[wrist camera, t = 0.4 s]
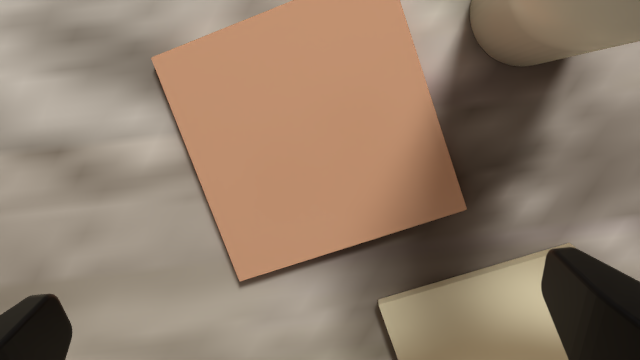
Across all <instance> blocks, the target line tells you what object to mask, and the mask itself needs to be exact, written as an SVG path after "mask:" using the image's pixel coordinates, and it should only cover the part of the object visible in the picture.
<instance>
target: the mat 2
mask: <svg viewBox="0 0 640 360" xmlns="http://www.w3.org/2000/svg"><path fill="white" fill-rule="evenodd" d="M564 247H574V246H573V245H571V244H570V243H567V244H564V245H560V246H557V247H554V248H564ZM574 248H575V247H574ZM551 249H553V248H550V249H547V250H544V251H540V252H537V253H533V254H530V255H527V256H523V257H520V258H517V259H513V260H510V261H506V262H503V263H500V264H496V265H493V266H490V267H486V268H483V269H479V270H476V271H473V272H469V273H466V274H463V275H459V276H456V277H452V278H449V279H446V280H442V281H439V282H436V283H432V284H429V285H425V286H422V287H419V288H415V289H412V290H409V291H405V292H402V293H398V294H395V295H392V296H388V297H385V298H382V299H378V305H379V308H380V311H381V313H382V316H383V319H384V322H385V325H386V327H387V330H388V333H389V336H390V339H391V341H392V344H393V347H394V350H395V353H396V355H397V358H398V360H568V357H567V355H566V352H565V350H564V347H563V345H562V342H561V340H560V338H559V335H558V333H557V330H556V328H555V325H554V323H553V320H552V318H551V315H550V313H549V310H548V308H547V305H546V303H545V301H544V298H543V295H542V291H541V281H542V276H543V270H544V265H545V260H546V255H547V253H548V251H549V250H551Z"/></svg>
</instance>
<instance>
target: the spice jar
mask: <svg viewBox="0 0 640 360" xmlns="http://www.w3.org/2000/svg"><path fill="white" fill-rule="evenodd" d="M470 22H471V28H472V31H473V34H474V36H475V38H476V40H477V42H478V43H479V45H480V46H481V48H482V49H483V50H484V51H485V52H486V53H487V54H488V55H489V56H491V57H492V58H494V59H495V60H497V61H499V62H502V63H504V64H508V65H512V66H532V65H537V64H541V63H545V62H550V61H554V60H558V59H563V58H567V57H572V56H576V55H580V54H585V53H589V52H594V51H598V50H602V49H607V48H611V47H615V46H620V45H624V44H629V43H633V42H637V41H640V0H472V1H471V6H470Z"/></svg>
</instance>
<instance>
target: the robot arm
mask: <svg viewBox="0 0 640 360" xmlns="http://www.w3.org/2000/svg"><path fill="white" fill-rule="evenodd" d="M541 291H542V295H543V298H544V301H545V303H546V305H547V308H548V310H549V313H550V315H551V318H552V320H553V323H554V325H555V328H556V330H557V333H558V335H559V338H560V340H561V342H562V345H563V347H564V350H565V352H566V355H567V357H568V360H640V282H639V281H637V280H635V279H634V278H632V277H630V276H628V275H626V274H624V273H622V272H620V271H618V270H616V269H615V268H613V267H611V266H609V265H607V264H605V263H603V262H601V261H599V260H597V259H596V258H594V257H592V256H590V255H588V254H586V253H584V252H582V251H580V250H578V249H576V248H574V247H564V248H553V249H551V250H549V251H548V253H547V255H546V260H545V265H544V270H543V276H542V281H541ZM71 338H72V326H71V323H70V321H69V319H68V317H67V315H66V313H65V311H64V309H63V307H62V305H61V303H60V301H59V299H58V298H57V297H56V296H55V295H54V294H40V295H32V296H29V297H27V298H25V299H24V300H22V301H21V302H19V303H18V304H16V305H15V306H13V307H12V308H10V309H9V310H7V311H6V312H4V313H3V314H1V315H0V360H65V359H66V355H67V352H68V349H69V345H70V342H71Z"/></svg>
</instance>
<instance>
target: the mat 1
mask: <svg viewBox="0 0 640 360" xmlns="http://www.w3.org/2000/svg"><path fill="white" fill-rule="evenodd" d="M151 59H152V62H153V64H154V67H155V69H156V72H157V74H158V77H159V79H160V82H161V84H162V87H163V89H164V92H165V94H166V97H167V100H168V102H169V105H170V107H171V110H172V112H173V115H174V117H175V120H176V122H177V125H178V127H179V130H180V132H181V135H182V137H183V140H184V142H185V145H186V148H187V150H188V153H189V155H190V158H191V160H192V163H193V165H194V168H195V170H196V173H197V175H198V178H199V180H200V183H201V185H202V188H203V190H204V193H205V196H206V198H207V201H208V203H209V206H210V208H211V211H212V213H213V216H214V218H215V221H216V223H217V226H218V228H219V231H220V233H221V236H222V239H223V241H224V244H225V246H226V249H227V251H228V254H229V256H230V259H231V261H232V264H233V266H234V269H235V271H236V274H237V276H238V279H239V281H243V280H246V279H249V278H253V277H256V276H259V275H262V274H265V273H268V272H272V271H275V270H278V269H281V268H284V267H287V266H290V265H294V264H297V263H300V262H303V261H306V260H309V259H313V258H316V257H319V256H322V255H325V254H328V253H332V252H335V251H338V250H341V249H344V248H347V247H351V246H354V245H357V244H360V243H363V242H366V241H370V240H373V239H376V238H379V237H382V236H385V235H389V234H392V233H395V232H398V231H401V230H404V229H408V228H411V227H414V226H417V225H420V224H423V223H427V222H430V221H433V220H436V219H439V218H442V217H445V216H449V215H452V214H455V213H458V212H461V211H464V210H467V208H466V205H465V202H464V198H463V195H462V192H461V189H460V186H459V183H458V180H457V177H456V174H455V171H454V167H453V164H452V161H451V158H450V155H449V152H448V149H447V146H446V143H445V139H444V136H443V133H442V130H441V127H440V124H439V121H438V118H437V115H436V111H435V108H434V105H433V102H432V99H431V96H430V93H429V90H428V87H427V83H426V80H425V77H424V74H423V71H422V68H421V65H420V62H419V59H418V56H417V52H416V49H415V46H414V43H413V40H412V37H411V34H410V31H409V28H408V24H407V21H406V18H405V15H404V12H403V9H402V6H401V3H400V0H293V1H290V2H288V3H285V4H283V5H280V6H278V7H276V8H273V9H271V10H268V11H266V12H263V13H261V14H258V15H256V16H253V17H251V18H248V19H246V20H243V21H241V22H238V23H236V24H233V25H231V26H228V27H226V28H224V29H221V30H219V31H216V32H214V33H211V34H209V35H206V36H204V37H201V38H199V39H196V40H194V41H191V42H189V43H186V44H184V45H181V46H179V47H176V48H174V49H172V50H169V51H167V52H164V53H162V54H159V55H157V56H154V57H152V58H151Z"/></svg>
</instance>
